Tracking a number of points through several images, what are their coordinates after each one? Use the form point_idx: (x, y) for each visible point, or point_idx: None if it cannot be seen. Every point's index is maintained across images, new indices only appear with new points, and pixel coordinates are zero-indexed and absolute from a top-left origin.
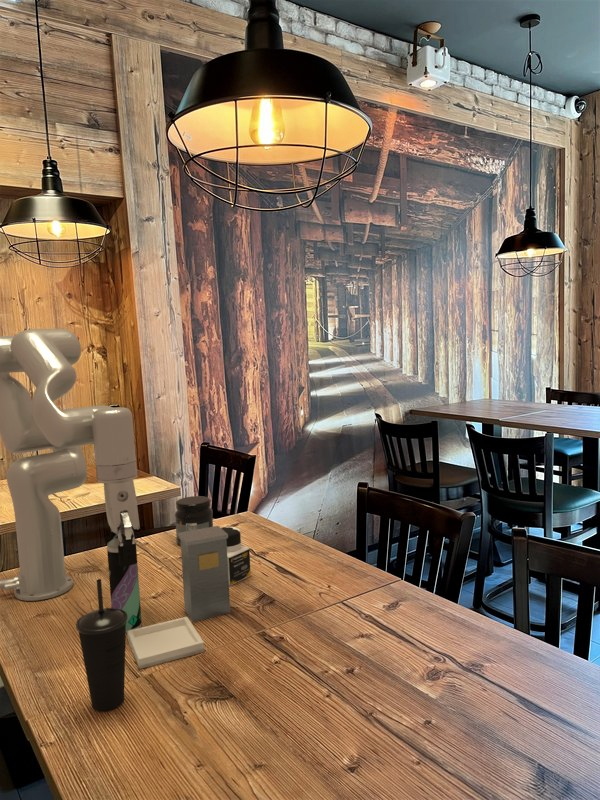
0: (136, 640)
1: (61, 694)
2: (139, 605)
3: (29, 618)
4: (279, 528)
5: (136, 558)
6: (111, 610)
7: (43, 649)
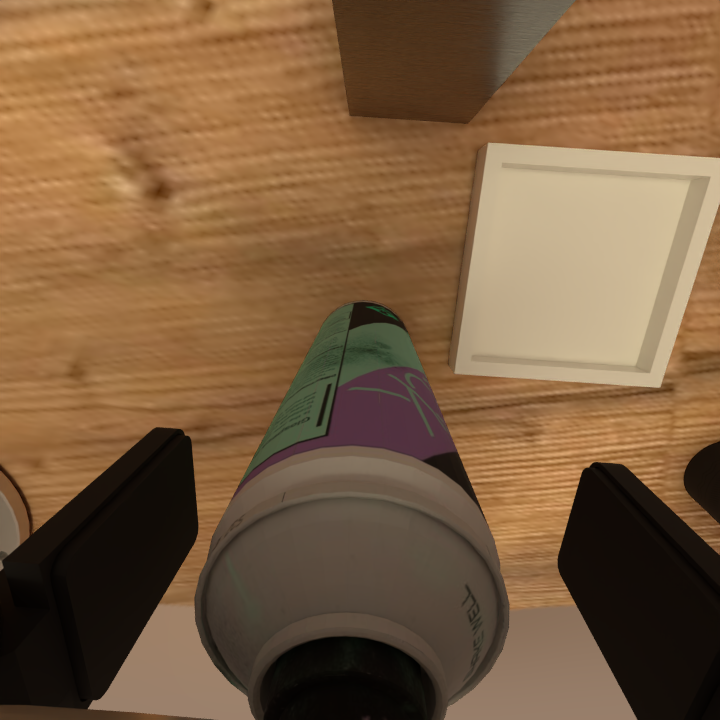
0: (491, 349)
1: None
2: (392, 323)
3: None
4: None
5: (645, 490)
6: None
7: None
